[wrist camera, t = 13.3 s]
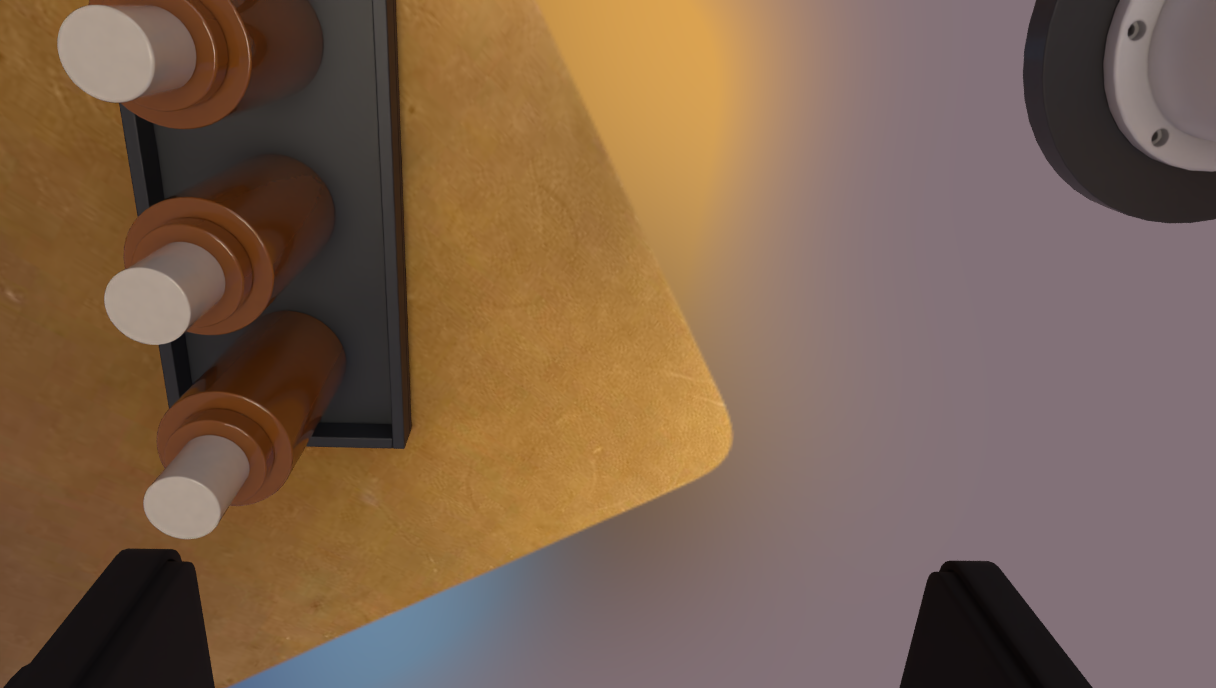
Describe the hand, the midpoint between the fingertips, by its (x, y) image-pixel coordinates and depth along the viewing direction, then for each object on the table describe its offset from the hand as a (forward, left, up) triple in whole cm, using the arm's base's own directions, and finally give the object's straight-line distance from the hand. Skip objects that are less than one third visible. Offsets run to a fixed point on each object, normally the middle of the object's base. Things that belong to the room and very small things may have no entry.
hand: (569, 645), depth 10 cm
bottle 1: (+13, -5, -30) cm, 33 cm away
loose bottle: (+13, +10, -30) cm, 34 cm away
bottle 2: (+13, +2, -30) cm, 32 cm away
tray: (+13, +2, -30) cm, 33 cm away
